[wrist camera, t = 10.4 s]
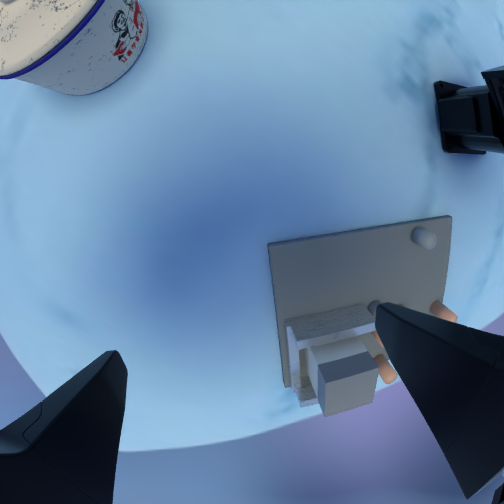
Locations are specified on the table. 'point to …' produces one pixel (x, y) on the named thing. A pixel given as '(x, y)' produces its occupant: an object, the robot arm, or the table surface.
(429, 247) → the pegs
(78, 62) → the teacup with lid
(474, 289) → the table surface
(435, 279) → the mat
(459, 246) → the table surface
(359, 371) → the block
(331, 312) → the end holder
